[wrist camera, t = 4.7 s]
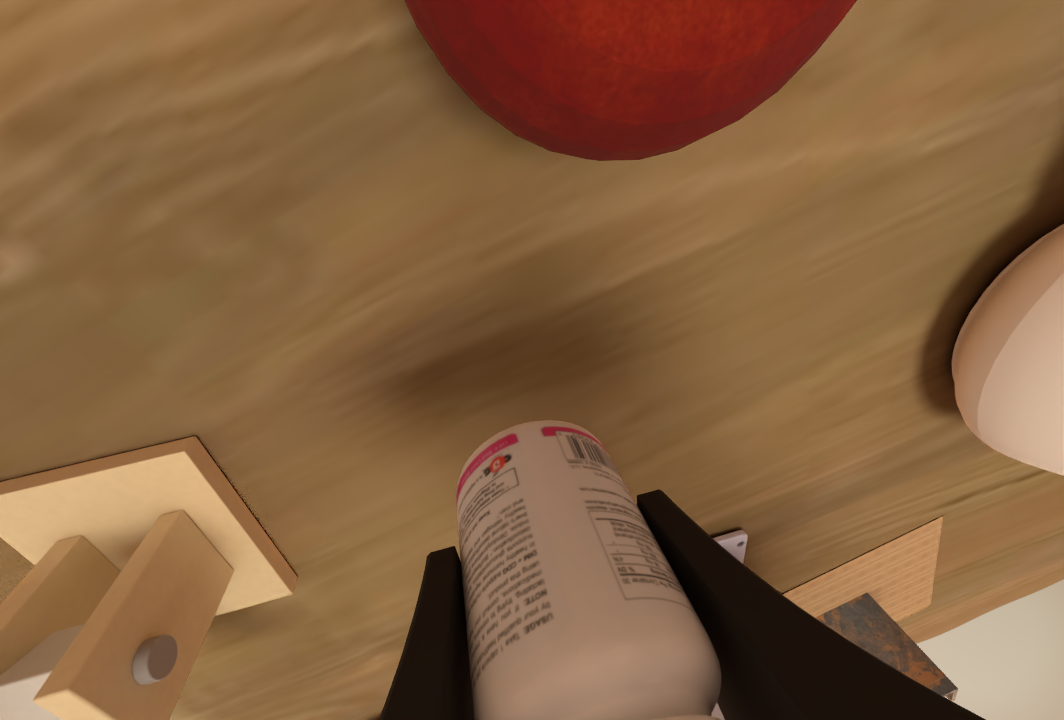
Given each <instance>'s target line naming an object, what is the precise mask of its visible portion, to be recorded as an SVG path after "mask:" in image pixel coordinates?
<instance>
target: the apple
mask: <svg viewBox="0 0 1064 720" xmlns="http://www.w3.org/2000/svg"><path fill="white" fill-rule="evenodd" d="M856 1H857V0H405V2H406V4H407V7H408V9H409V11H410V13H411V15H412V17H413V19H414V22H415V24H416V26H417V28H418V29H419V31H420V32H421V34H422V35H423V37H424V38H425V40H426V41H427V43H428V44H429V46H430V47H431V49H432V50H433V52H434V53H435V55H436V56H437V58H438V60H439V61H440V63H441V64H442V66H443V67H444V69H445V70H446V72H447V73H448V74H449V75H450V76H451V77H452V79H453V80H454V81H455V82H456V83H457V84H458V85H459V86H460V87H461V88H462V89H463V90H464V92H465V93H466V94H467V95H468V96H469V97H470V98H471V99H472V100H473V101H474V102H475V103H476V104H477V106H478V107H479V108H480V109H481V110H483V111H484V112H485V113H487V114H488V115H489V116H491V117H492V118H493V119H495V120H496V121H498V122H499V123H500V124H502V125H503V126H504V127H506V128H507V129H508V130H510V131H511V132H512V133H514V134H515V135H517V136H519V137H521V138H523V139H526V140H528V141H530V142H532V143H534V144H536V145H538V146H541V147H543V148H545V149H547V150H549V151H552V152H557V153H561V154H566V155H570V156H575V157H580V158H584V159H591V160H599V161H606V160H640V159H644V158H648V157H652V156H656V155H660V154H664V153H668V152H672V151H676V150H679V149H681V148H683V147H685V146H687V145H689V144H691V143H693V142H695V141H697V140H699V139H701V138H703V137H705V136H707V135H709V134H711V133H713V132H716V131H718V130H720V129H722V128H724V127H726V126H728V125H730V124H732V123H734V122H736V121H738V120H740V119H741V118H743V117H744V116H745V115H747V114H748V113H749V112H751V111H752V110H753V109H755V108H756V107H757V106H759V105H760V104H761V103H763V102H764V101H765V100H767V99H768V98H770V97H771V96H772V95H774V94H775V93H776V92H778V91H779V90H780V89H781V88H782V87H783V86H784V85H785V84H786V83H787V81H788V80H789V79H790V78H791V77H792V76H793V75H794V74H795V73H796V72H797V71H798V70H799V69H800V68H801V67H802V66H803V65H804V64H805V63H806V62H807V61H808V60H809V59H810V58H811V57H812V56H813V55H814V54H815V53H816V51H817V50H818V49H819V48H820V47H821V45H822V44H823V43H824V42H825V40H826V39H827V38H828V37H829V35H830V34H831V33H832V32H833V31H834V29H835V28H836V27H837V26H838V24H839V23H840V22H841V21H842V19H843V18H844V17H845V15H846V14H847V13H848V11H849V10H850V9H851V7H852V6H853V5H854V3H855V2H856Z"/></svg>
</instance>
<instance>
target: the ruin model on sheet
mask: <svg viewBox="0 0 1064 720" xmlns="http://www.w3.org/2000/svg"><path fill="white" fill-rule="evenodd" d="M942 520H943V516H942V517H940V518H938V519H936V520H934V521H932V522H930V523H928V524H926V525H924V526H922V527H920V528H918V529H916V530H914V531H912V532H910V533H907V534H905V535H903V536H901V537H899V538H897V539H895V540H893V541H891V542H889V543H887V544H885V545H883V546H881V547H879V548H877V549H875V550H873V551H871V552H869V553H867V554H864V555H862V556H860V557H858V558H856V559H854V560H852V561H850V562H848V563H846V564H844V565H842V566H840V567H838V568H836V569H834V570H832V571H830V572H828V573H826V574H823V575H821V576H819V577H817V578H815V579H813V580H811V581H809V582H807V583H805V584H803V585H801V586H799V587H797V588H795V589H793V590H791V591H789V592H787V593H785V594H783V595H784V596H785V597H786V598H788V599H789V600H790V601H792V602H793V603H795V604H796V605H797V606H799V607H800V608H802V609H803V610H805V611H806V612H807V613H809V614H810V615H812V616H813V617H815V618H816V619H817V620H819V621H820V622H822V623H823V624H825V625H826V626H828V627H829V628H831V629H832V630H834V631H835V632H837V633H838V634H840V635H841V636H843V637H845V638H846V639H848V640H849V641H851V642H852V643H854V644H855V645H857V646H859V647H860V648H862V649H864V650H865V651H867V652H869V653H870V654H872V655H873V656H875V657H877V658H878V659H880V660H882V661H883V662H885V663H887V664H888V665H890V666H892V667H893V668H895V669H897V670H898V671H900V672H901V673H903V674H905V675H906V676H908V677H910V678H911V679H913V680H915V681H917V682H918V683H920V684H922V685H924V686H925V687H927V688H929V689H931V690H933V691H934V692H936V693H938V694H940V695H941V696H943V697H944V696H946V697H947V698H948V699H949V700H950V701H954V700H955V697H956V694H957V690H958V689H957V687H956V686H955V685H954V684H953V683H952V682H951V681H950V680H949V679H948V678H947V677H946V676H945V674H944V673H943V672H942V671H941V670H940V669H939V668H938V667H937V666H936V665H935V664H934V663H933V662H932V661H931V660H930V658H929V657H928V656H927V655H926V654H925V653H924V652H923V651H922V650H921V649H920V648H919V647H918V646H917V645H916V644H915V643H914V641H913V640H912V639H911V638H910V637H909V636H908V635H907V634H906V633H905V632H904V631H903V630H902V629H901V628H900V627H899V626H898V624H897V623H896V622H897V621H899V620H902V619H904V618H906V617H908V616H910V615H912V614H914V613H916V612H918V611H920V610H922V609H925V608H927V607H929V606H930V603H931V596H932V589H933V582H934V575H935V568H936V562H937V555H938V548H939V541H940V534H941V527H942Z"/></svg>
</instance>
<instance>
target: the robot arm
mask: <svg viewBox="0 0 1064 720" xmlns="http://www.w3.org/2000/svg"><path fill="white" fill-rule="evenodd" d="M637 506H638V508H639V510H640V512H641V514H642V515H643V517H644V519H645V521H646V523H647V525H648V526H649V528H650V530H651V532H652V533H653V535H654V537H655V539H656V541H657V543H658V544H659V546H660V548H661V550H662V552H663V553H664V555H665V557H666V559H667V561H668V562H669V564H670V566H671V568H672V570H673V572H674V573H675V575H676V577H677V579H678V581H679V583H680V584H681V586H682V588H683V590H684V591H685V593H686V595H687V597H688V599H689V601H690V603H691V604H692V606H693V608H694V610H695V612H696V613H697V615H698V617H699V619H700V621H701V623H702V625H703V626H704V628H705V630H706V632H707V634H708V635H709V638H710V640H711V642H712V644H713V647H714V649H715V651H716V654H717V657H718V660H719V663H720V669H721V689H720V694H719V697H718V700H717V703H716V705H715V708H714V710H713V712H712V713H711V714H712V716H713V717H717V718H719V719H721V720H985V719H984V718H982V717H980V716H978V715H976V714H974V713H972V712H970V711H969V710H967V709H965V708H963V707H961V706H959V705H957V704H955V703H954V702H952V701H950V700H949V699H947V698H945V697H943V696H941V695H940V694H938V693H936V692H934V691H933V690H931V689H929V688H927V687H925V686H924V685H922V684H920V683H918V682H917V681H915V680H913V679H911V678H910V677H908V676H906V675H905V674H903V673H901V672H900V671H898V670H897V669H895V668H893V667H892V666H890V665H888V664H887V663H885V662H883V661H882V660H880V659H878V658H877V657H875V656H873V655H872V654H870V653H869V652H867V651H865V650H864V649H862V648H860V647H859V646H857V645H855V644H854V643H852V642H851V641H849V640H848V639H846V638H845V637H843V636H841V635H840V634H838V633H837V632H835V631H834V630H832V629H831V628H829V627H828V626H826V625H825V624H823V623H822V622H820V621H819V620H817V619H816V618H815V617H813V616H812V615H810V614H809V613H807V612H806V611H805V610H803V609H802V608H800V607H799V606H797V605H796V604H795V603H793V602H792V601H790V600H789V599H788V598H786V597H785V596H784V595H782V594H781V593H780V592H778V591H777V590H776V589H774V588H773V587H772V586H770V585H769V584H768V583H767V582H765V581H764V580H763V579H761V578H760V577H759V576H757V575H756V574H755V573H754V572H752V571H751V570H750V569H749V568H747V567H746V566H745V565H744V564H743V561H744V556H745V550H746V544H747V539H748V535H747V534H746V533H745V531H743V530H738V531H735V532H732V533H728V534H725V535H722V536H718V537H715V538H712V537H711V536H709V535H708V534H707V533H706V532H705V531H704V530H703V529H702V528H701V527H699V526H698V525H697V524H696V523H695V522H694V521H693V520H692V519H691V518H690V517H689V516H687V515H686V514H685V513H684V512H683V511H682V510H681V509H680V508H679V507H678V506H677V505H676V504H675V503H674V502H673V501H672V500H671V499H670V498H669V497H668V496H667V495H666V494H665V493H664V492H663V491H661V490H655V491H651V492H648V493H644V494H640V495H637ZM379 720H475V719H474V709H473V698H472V687H471V678H470V664H469V653H468V641H467V630H466V617H465V606H464V594H463V583H462V571H461V562H460V559H459V556H458V554H457V551H456V548H455V546H452V547H449V548H445V549H442V550H438V551H434V552H431V553H430V554H429V555H428V556H427V560H426V566H425V571H424V575H423V580H422V585H421V589H420V593H419V597H418V601H417V605H416V608H415V612H414V616H413V619H412V623H411V626H410V629H409V633H408V636H407V639H406V643H405V646H404V649H403V653H402V656H401V659H400V662H399V665H398V668H397V671H396V674H395V677H394V679H393V682H392V685H391V688H390V691H389V694H388V697H387V700H386V702H385V705H384V708H383V711H382V713H381V716H380V718H379Z"/></svg>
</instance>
